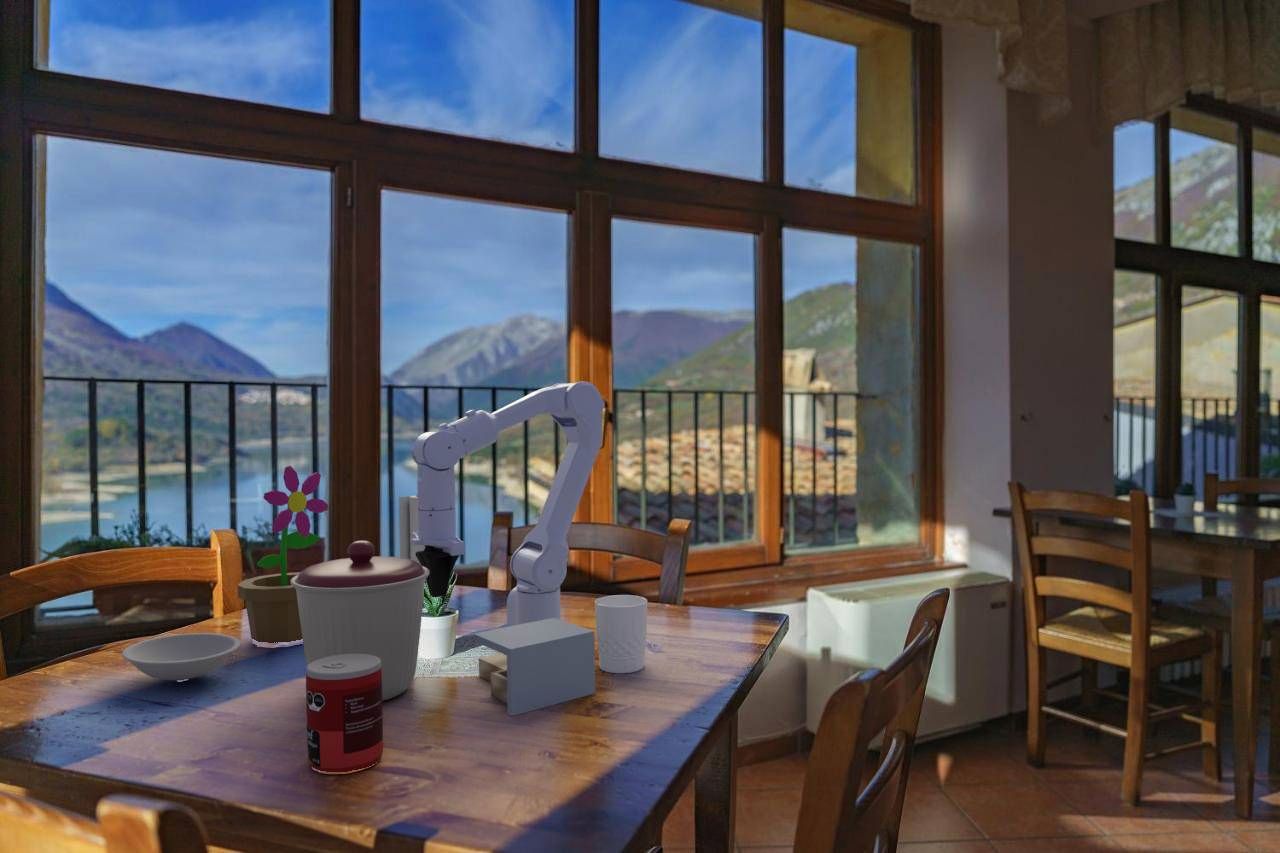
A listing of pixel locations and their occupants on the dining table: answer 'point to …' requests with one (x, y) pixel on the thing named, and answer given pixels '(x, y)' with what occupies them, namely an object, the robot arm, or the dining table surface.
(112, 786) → the dining table surface
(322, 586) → the canister
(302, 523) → the flowerpot
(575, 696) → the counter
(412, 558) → the paper towel roll
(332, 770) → the canned food
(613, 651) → the white cup
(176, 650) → the dish
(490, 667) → the wooden tray
